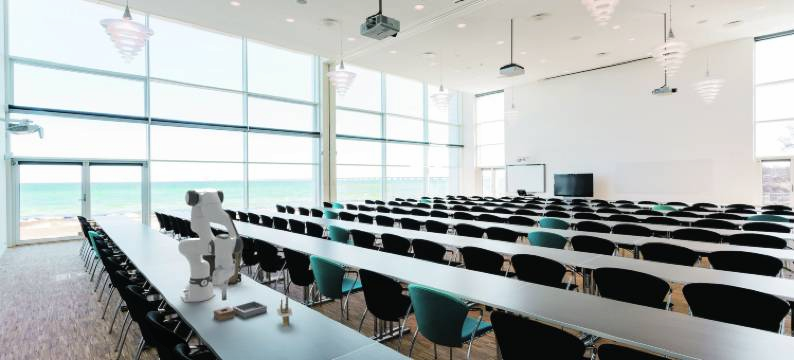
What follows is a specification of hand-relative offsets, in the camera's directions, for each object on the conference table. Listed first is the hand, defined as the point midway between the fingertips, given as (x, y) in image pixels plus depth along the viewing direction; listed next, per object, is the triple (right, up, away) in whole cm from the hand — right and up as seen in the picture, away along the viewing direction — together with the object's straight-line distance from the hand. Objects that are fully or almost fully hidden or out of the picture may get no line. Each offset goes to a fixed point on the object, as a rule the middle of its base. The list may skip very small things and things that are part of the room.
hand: (224, 288), depth 211 cm
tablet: (-36, -16, +72) cm, 82 cm away
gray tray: (+12, -16, +7) cm, 21 cm away
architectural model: (+37, -17, -9) cm, 41 cm away
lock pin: (0, -7, 0) cm, 7 cm away
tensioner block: (0, -17, 0) cm, 17 cm away
